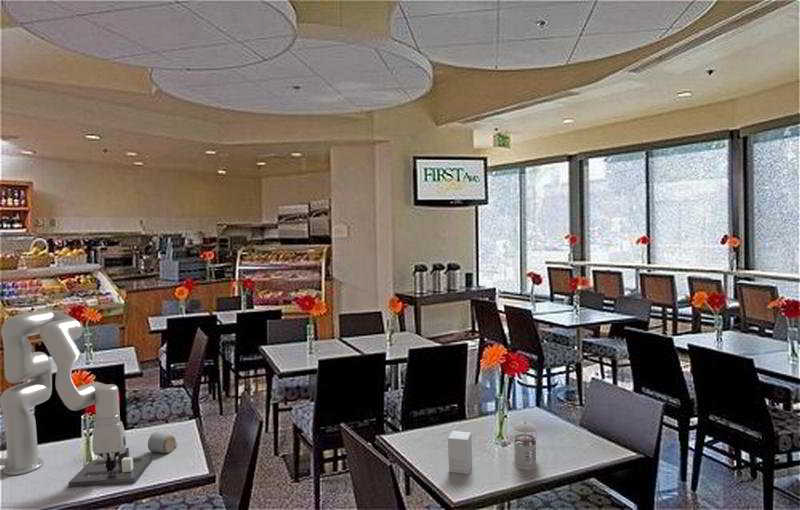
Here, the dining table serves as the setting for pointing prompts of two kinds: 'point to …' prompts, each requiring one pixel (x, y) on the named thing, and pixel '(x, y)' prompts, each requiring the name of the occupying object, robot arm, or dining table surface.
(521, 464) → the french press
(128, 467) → the white upright block
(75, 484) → the grey slider board
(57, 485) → the dining table surface
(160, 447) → the grey cylinder
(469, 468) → the supplement box
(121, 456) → the black fader
